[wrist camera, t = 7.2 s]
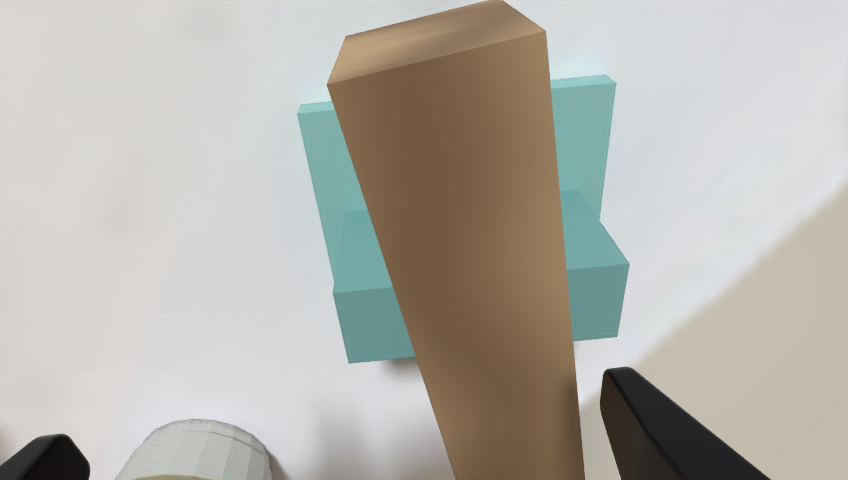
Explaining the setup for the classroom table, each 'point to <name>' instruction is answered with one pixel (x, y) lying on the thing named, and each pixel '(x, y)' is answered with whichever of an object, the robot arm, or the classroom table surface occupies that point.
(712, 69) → the classroom table surface
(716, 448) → the robot arm
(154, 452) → the coffee cup
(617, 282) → the fulcrum block
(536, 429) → the walnut bar
